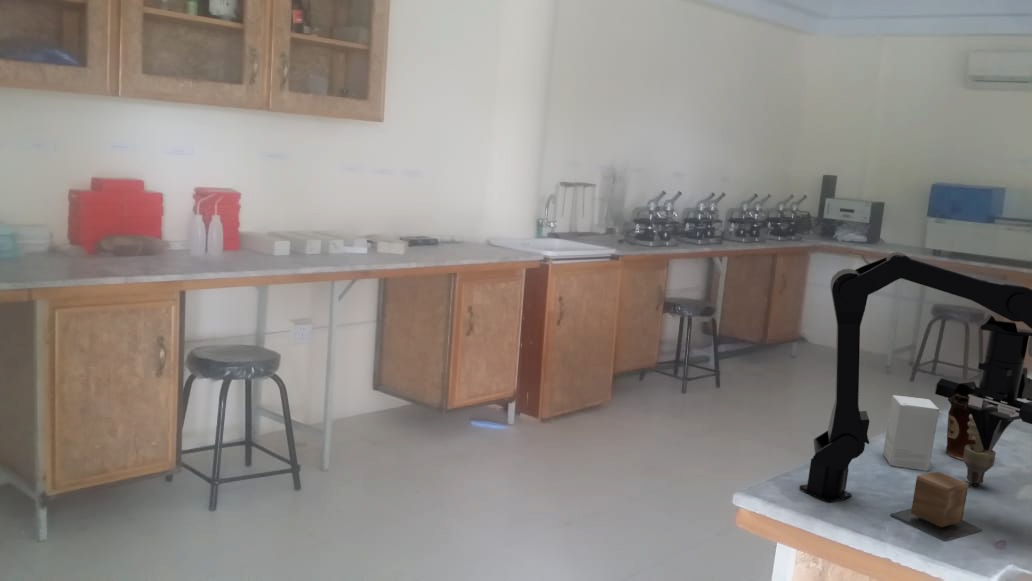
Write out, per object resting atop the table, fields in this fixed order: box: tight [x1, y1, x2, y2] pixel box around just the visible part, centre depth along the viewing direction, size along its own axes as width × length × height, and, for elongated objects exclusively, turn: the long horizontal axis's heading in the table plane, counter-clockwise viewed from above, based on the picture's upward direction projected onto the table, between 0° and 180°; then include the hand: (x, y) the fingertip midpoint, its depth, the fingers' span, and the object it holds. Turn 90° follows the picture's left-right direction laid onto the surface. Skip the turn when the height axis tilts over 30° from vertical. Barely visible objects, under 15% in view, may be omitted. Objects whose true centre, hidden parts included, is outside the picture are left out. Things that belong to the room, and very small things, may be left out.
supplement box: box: [882, 394, 940, 472], centre depth 176 cm, size 7×7×13 cm
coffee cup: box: [945, 394, 989, 461], centre depth 183 cm, size 9×8×13 cm
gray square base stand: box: [889, 508, 983, 542], centre depth 147 cm, size 10×10×7 cm
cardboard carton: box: [910, 471, 970, 527], centre depth 147 cm, size 6×6×7 cm
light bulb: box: [962, 414, 996, 487], centre depth 166 cm, size 6×6×15 cm
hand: (987, 450), depth 148 cm, fingers closed
